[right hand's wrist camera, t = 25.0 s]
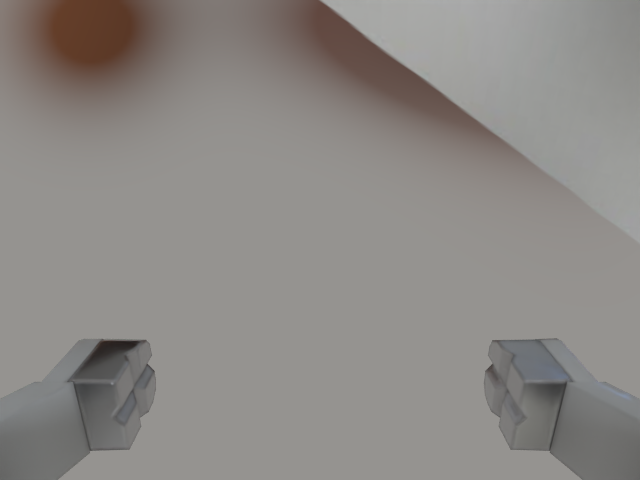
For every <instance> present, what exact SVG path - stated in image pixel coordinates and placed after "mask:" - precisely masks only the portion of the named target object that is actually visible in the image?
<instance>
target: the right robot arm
mask: <svg viewBox="0 0 640 480" xmlns="http://www.w3.org/2000/svg"><path fill="white" fill-rule="evenodd" d="M151 356H152V353H151V348H150V344H149V342H148V341H147V340H132V339H83V340H79V341H78V342H77V343H76V344H75V345H74V346H73V347H72V349H71V350H70V351H69V352H68V353H67V354H66V355H65V356H64V358H63V359H62V360H61V361H60V362H59V363H58V364H57V365H56V366H55V367H54V369H53V370H52V371H51V372H50V373H49V374H48V375H47V376H46V377H45V379H44V380H43V381H42V382H34V383H31V384H29V385H27V386H25V387H23V388H21V389H19V390H17V391H15V392H13V393H11V394H9V395H7V396H5V397H3V398H1V399H0V480H58V479H59V478H60V477H61V476H63V475H64V474H65V473H66V472H68V471H69V470H70V469H71V468H72V467H73V466H75V465H76V464H77V463H78V462H80V461H81V460H82V459H83V458H84V457H86V456H87V455H88V454H89V453H90V451H96V450H129V449H130V447H131V445H132V444H133V442H134V440H135V438H136V436H137V434H138V432H139V430H140V428H141V422H140V417H142V416H143V415H145V414H146V413H147V412H149V410H150V408H151V405H152V403H153V400H154V395H155V391H156V378H155V371H154V370H153V369H152V368H151V367H150V366H149V365H148V364H147V363H148V361H149V359H150V358H151ZM488 356H489V358H490V359H491V361H492V363H493V364H492V365H491V366H490V367H489V368H488V369H487V370H486V371H485V379H484V389H485V396H486V400H487V403H488V405H489V408H490V410H491V411H492V412H493V413H494V414H496V415H497V416H499V417H500V422H499V428H500V430H501V432H502V434H503V436H504V437H505V439H506V442H507V443H508V445H509V447H510V449H511V450H543V451H550V453H551V454H552V455H553V456H555V457H556V458H557V459H558V460H559V461H561V462H562V463H563V464H564V465H565V466H567V467H568V468H569V469H570V470H571V471H573V472H574V473H575V474H576V475H578V476H579V477H580V478H581V479H582V480H640V399H639V398H637V397H635V396H633V395H631V394H629V393H627V392H625V391H623V390H621V389H619V388H617V387H615V386H613V385H611V384H609V383H606V382H598V381H597V380H596V379H595V378H594V376H593V375H592V374H591V373H590V372H589V371H588V370H587V369H586V367H585V366H584V365H583V364H582V363H581V362H580V361H579V360H578V359H577V357H576V356H575V355H574V354H573V353H572V352H571V351H570V350H569V349H568V347H567V346H566V345H565V344H564V343H563V342H562V341H561V340H559V339H535V340H493V341H492V342H491V345H490V347H489V353H488Z"/></svg>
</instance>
